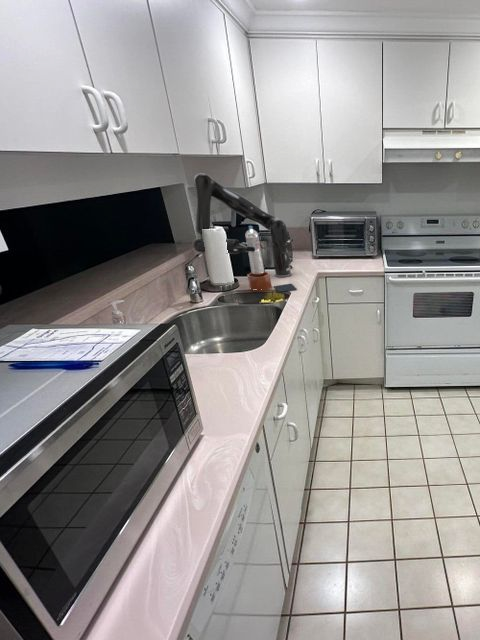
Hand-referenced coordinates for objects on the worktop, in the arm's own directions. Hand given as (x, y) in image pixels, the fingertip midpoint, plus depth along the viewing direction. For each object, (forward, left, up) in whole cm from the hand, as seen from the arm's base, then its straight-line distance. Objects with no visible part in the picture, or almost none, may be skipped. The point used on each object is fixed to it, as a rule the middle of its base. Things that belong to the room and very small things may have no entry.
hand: (257, 247), depth 203 cm
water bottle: (-2, -2, -14) cm, 14 cm away
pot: (-1, -2, -22) cm, 23 cm away
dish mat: (+6, +10, -22) cm, 25 cm away
